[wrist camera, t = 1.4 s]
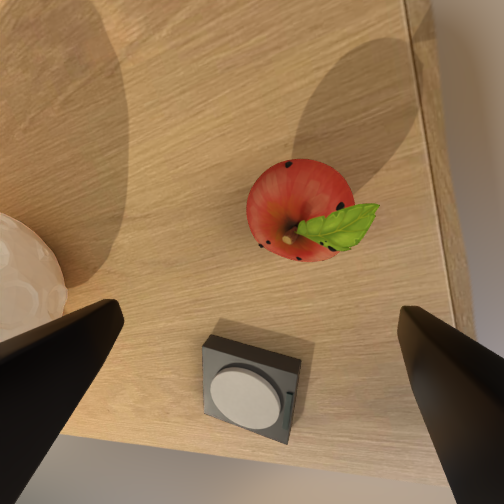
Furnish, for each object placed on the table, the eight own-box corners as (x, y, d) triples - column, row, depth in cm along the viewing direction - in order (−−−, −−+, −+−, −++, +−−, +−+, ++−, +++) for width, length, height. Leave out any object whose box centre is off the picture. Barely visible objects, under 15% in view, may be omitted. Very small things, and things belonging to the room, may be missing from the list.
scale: (301, 359, 27) (296, 379, 25) (291, 428, 31) (286, 450, 29) (210, 334, 30) (198, 349, 28) (211, 399, 34) (201, 418, 31)
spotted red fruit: (302, 257, 23) (270, 325, 14) (250, 195, 23) (185, 226, 14) (385, 199, 20) (410, 244, 11) (325, 124, 19) (301, 108, 10)
